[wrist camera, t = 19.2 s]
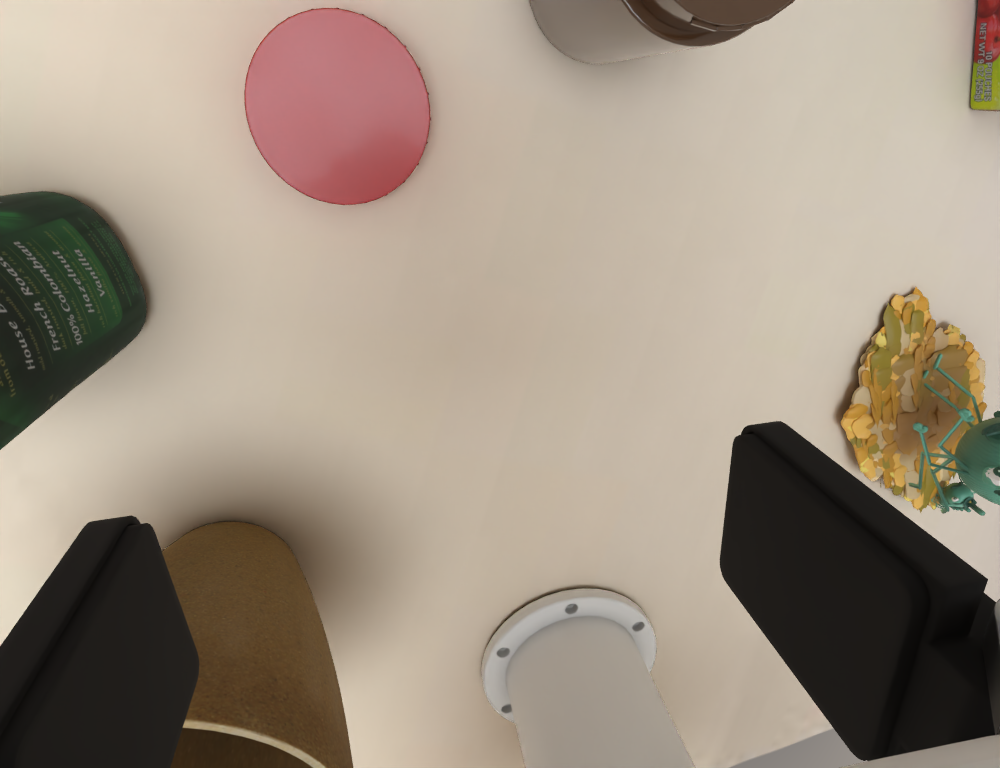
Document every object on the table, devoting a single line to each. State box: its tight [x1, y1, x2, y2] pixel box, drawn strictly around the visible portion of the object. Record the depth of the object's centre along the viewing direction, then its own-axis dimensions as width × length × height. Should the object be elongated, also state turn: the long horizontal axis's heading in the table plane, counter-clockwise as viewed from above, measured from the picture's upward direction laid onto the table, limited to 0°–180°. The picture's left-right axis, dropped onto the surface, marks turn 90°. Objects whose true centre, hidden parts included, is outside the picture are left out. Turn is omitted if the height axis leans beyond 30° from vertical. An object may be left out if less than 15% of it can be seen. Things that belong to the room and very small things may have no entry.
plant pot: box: [162, 521, 353, 768], centre depth 29 cm, size 15×15×16 cm
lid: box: [245, 8, 431, 205], centre depth 27 cm, size 8×8×2 cm
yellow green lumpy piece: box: [840, 287, 1000, 515], centre depth 35 cm, size 10×18×15 cm, turn 17°
